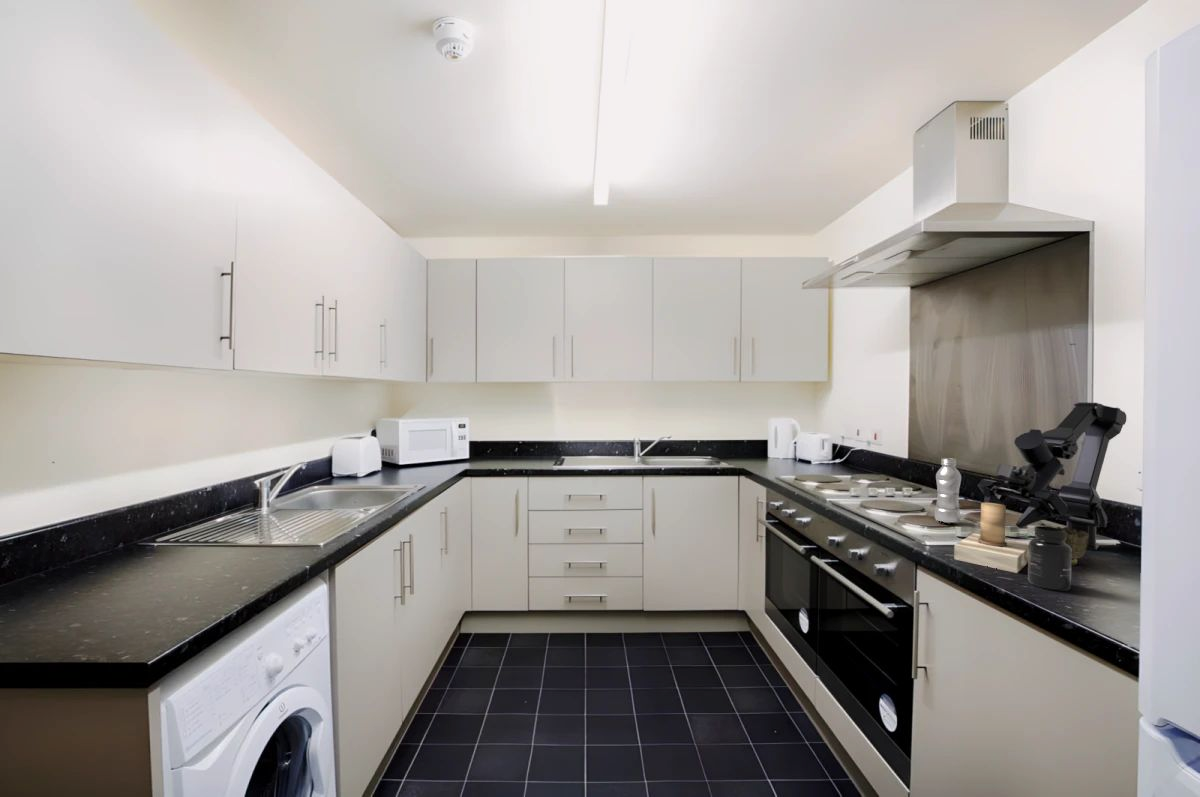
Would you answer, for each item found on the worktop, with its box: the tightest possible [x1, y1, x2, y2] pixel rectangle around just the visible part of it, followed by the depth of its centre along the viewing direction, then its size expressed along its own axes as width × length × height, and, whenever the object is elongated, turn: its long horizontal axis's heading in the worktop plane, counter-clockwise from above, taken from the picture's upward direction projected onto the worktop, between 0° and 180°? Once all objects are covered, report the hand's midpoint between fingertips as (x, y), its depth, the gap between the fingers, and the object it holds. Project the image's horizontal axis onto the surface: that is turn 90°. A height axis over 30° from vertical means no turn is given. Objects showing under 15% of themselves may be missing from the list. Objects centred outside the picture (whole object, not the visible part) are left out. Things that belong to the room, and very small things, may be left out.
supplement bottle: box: [1027, 525, 1072, 592], centre depth 107 cm, size 7×7×12 cm
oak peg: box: [978, 502, 1007, 547], centre depth 125 cm, size 6×6×13 cm
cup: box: [1056, 526, 1089, 566], centre depth 121 cm, size 8×7×8 cm
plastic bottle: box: [934, 457, 962, 523], centre depth 157 cm, size 6×7×20 cm
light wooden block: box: [953, 532, 1029, 574], centre depth 124 cm, size 16×12×4 cm
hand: (999, 521), depth 125 cm, fingers open, 9 cm apart
